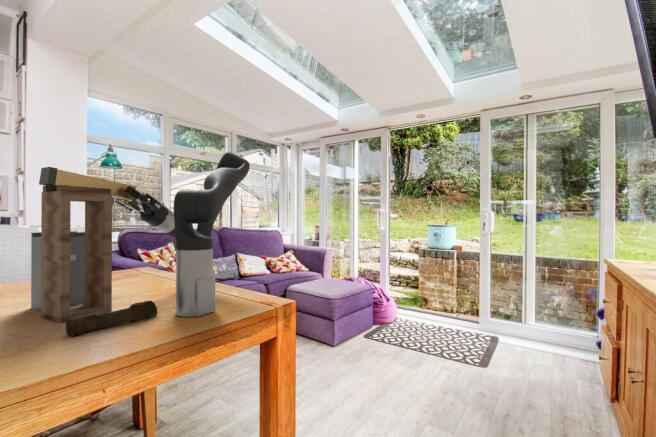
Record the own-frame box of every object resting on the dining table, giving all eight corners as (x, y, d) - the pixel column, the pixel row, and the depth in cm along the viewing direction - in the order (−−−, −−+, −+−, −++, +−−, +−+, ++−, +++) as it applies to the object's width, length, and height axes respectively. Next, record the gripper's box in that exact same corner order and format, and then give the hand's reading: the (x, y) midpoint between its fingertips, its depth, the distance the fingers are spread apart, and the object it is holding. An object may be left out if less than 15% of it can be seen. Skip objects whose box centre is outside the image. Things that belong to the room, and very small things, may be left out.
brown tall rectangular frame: (111, 310, 90) (112, 188, 90) (60, 323, 79) (61, 184, 79) (92, 306, 93) (92, 189, 93) (41, 318, 83) (41, 186, 83)
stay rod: (134, 199, 98) (136, 185, 98) (47, 183, 79) (49, 166, 79) (126, 199, 100) (128, 186, 100) (38, 184, 80) (41, 167, 81)
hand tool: (69, 340, 69) (69, 318, 69) (64, 335, 71) (64, 314, 71) (161, 319, 83) (161, 301, 83) (154, 316, 86) (155, 298, 86)
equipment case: (91, 302, 98) (91, 232, 98) (47, 312, 88) (47, 233, 88) (75, 299, 102) (75, 231, 101) (31, 308, 92) (31, 232, 92)
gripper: (151, 207, 113) (109, 179, 100) (180, 207, 107) (139, 177, 94) (140, 226, 109) (96, 200, 97) (170, 227, 103) (126, 199, 90)
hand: (117, 189), depth 95 cm, fingers open, 8 cm apart
